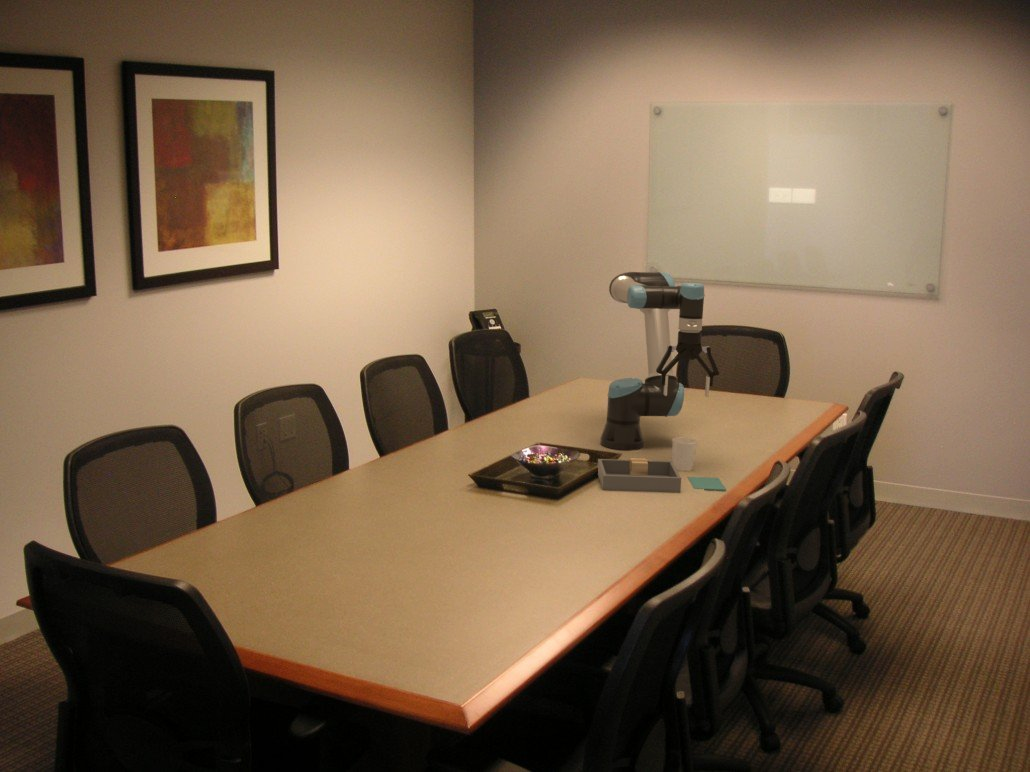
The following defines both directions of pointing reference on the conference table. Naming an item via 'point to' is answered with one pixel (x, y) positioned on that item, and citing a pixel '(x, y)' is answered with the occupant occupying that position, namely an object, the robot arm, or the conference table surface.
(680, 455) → the white cup
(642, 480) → the crate
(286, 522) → the conference table surface
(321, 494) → the conference table surface
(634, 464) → the maple block
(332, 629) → the conference table surface
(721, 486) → the teal mat
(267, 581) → the conference table surface
